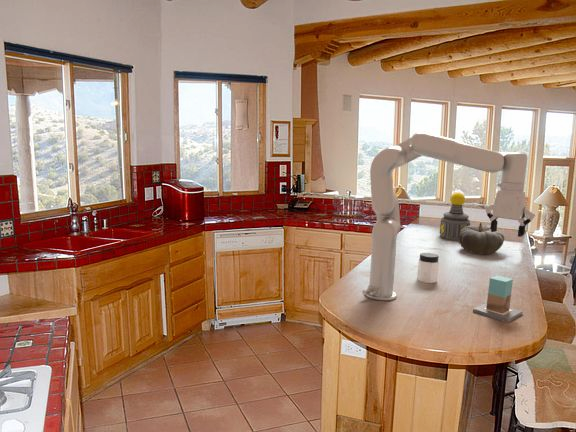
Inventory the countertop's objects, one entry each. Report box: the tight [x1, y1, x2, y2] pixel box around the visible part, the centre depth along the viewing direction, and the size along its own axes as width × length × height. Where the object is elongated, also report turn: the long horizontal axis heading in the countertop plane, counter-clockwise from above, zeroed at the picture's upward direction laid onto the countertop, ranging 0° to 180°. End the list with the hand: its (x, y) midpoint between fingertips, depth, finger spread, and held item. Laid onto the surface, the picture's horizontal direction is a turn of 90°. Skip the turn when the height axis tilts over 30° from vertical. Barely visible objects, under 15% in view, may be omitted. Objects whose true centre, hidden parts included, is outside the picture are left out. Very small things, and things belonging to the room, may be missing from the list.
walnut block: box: [486, 293, 512, 313], centre depth 180 cm, size 6×6×6 cm
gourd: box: [458, 222, 505, 256], centre depth 278 cm, size 25×25×17 cm
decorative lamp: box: [439, 192, 471, 241], centre depth 315 cm, size 19×19×30 cm
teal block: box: [487, 274, 514, 298], centre depth 179 cm, size 6×6×6 cm
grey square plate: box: [472, 302, 524, 323], centre depth 180 cm, size 13×13×1 cm
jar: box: [416, 252, 440, 284], centre depth 218 cm, size 9×8×12 cm
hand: (506, 233), depth 175 cm, fingers open, 9 cm apart
